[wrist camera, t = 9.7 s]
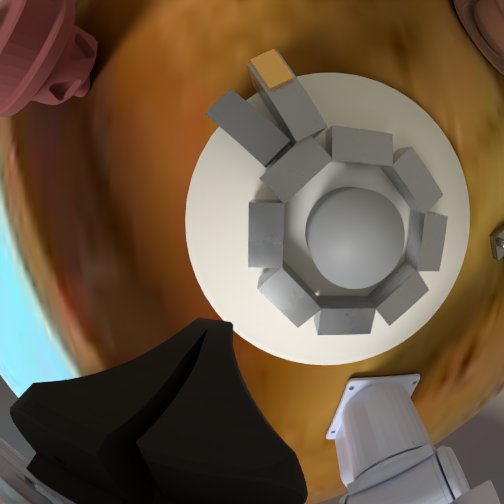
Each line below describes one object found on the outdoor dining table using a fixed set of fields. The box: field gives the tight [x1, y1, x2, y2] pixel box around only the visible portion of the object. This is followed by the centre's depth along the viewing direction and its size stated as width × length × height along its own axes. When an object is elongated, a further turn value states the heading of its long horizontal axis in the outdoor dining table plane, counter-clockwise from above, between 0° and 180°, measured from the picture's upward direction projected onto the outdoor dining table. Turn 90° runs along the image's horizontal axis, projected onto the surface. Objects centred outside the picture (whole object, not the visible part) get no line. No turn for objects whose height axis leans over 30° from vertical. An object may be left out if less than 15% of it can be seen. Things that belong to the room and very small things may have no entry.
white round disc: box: [185, 73, 470, 365], centre depth 16 cm, size 22×22×4 cm
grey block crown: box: [247, 49, 448, 335], centre depth 15 cm, size 13×17×4 cm
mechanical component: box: [0, 0, 98, 117], centre depth 10 cm, size 12×10×10 cm
